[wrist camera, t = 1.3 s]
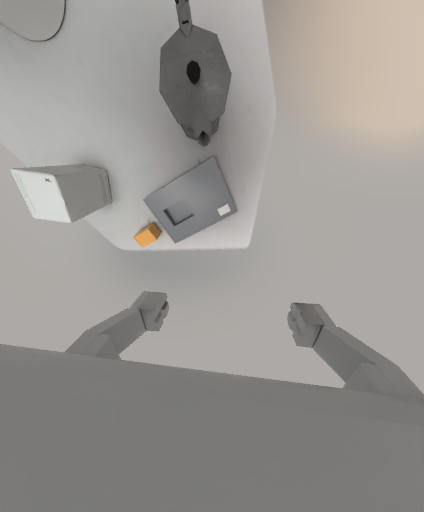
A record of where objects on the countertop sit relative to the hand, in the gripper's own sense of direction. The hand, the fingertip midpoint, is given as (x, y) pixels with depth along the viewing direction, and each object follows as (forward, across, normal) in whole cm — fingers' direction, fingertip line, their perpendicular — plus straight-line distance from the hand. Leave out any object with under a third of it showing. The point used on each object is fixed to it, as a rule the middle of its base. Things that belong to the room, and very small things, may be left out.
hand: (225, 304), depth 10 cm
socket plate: (+35, +10, -2) cm, 37 cm away
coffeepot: (+34, +8, -21) cm, 41 cm away
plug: (+34, +23, +6) cm, 41 cm away
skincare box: (+31, +34, -7) cm, 47 cm away
